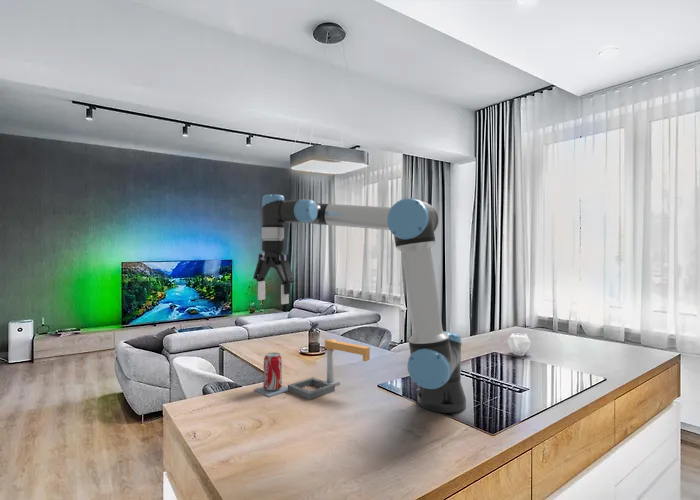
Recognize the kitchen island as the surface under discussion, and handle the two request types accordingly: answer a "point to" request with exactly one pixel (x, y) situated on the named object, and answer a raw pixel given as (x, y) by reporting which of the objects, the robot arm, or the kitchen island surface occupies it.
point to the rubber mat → (271, 393)
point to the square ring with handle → (317, 382)
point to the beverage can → (272, 371)
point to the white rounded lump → (519, 343)
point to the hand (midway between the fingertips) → (272, 301)
